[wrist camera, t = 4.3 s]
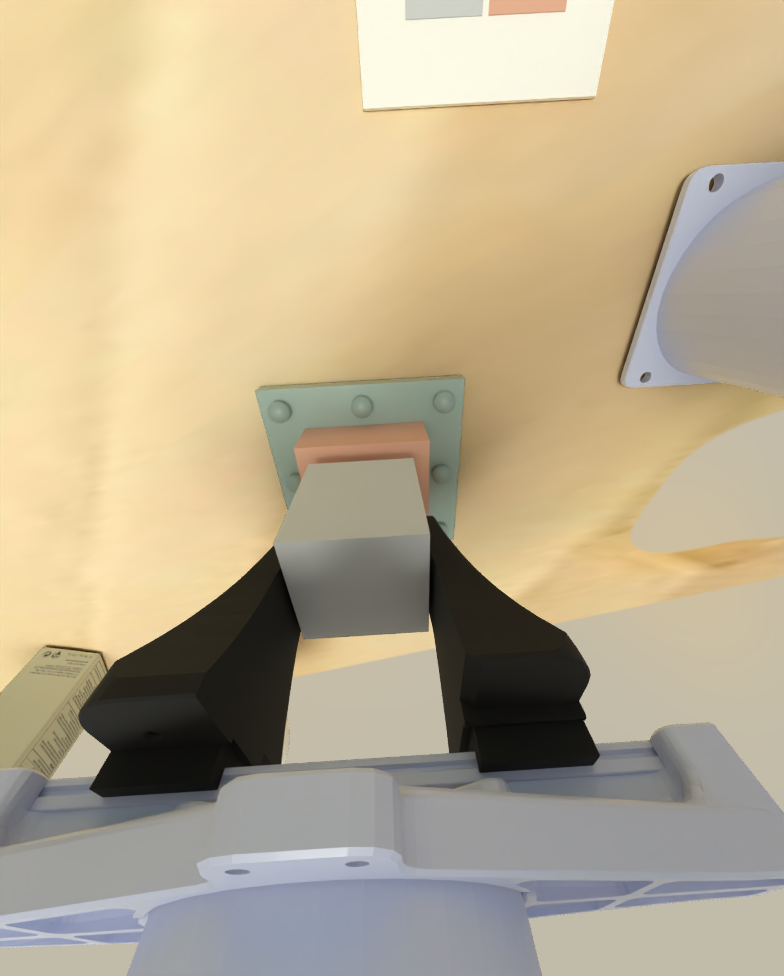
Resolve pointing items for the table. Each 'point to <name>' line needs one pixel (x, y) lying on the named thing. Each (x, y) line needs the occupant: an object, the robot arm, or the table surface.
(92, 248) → the table surface
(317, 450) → the base brick
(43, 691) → the skincare box
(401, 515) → the grey brick
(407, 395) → the build plate
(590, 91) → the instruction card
